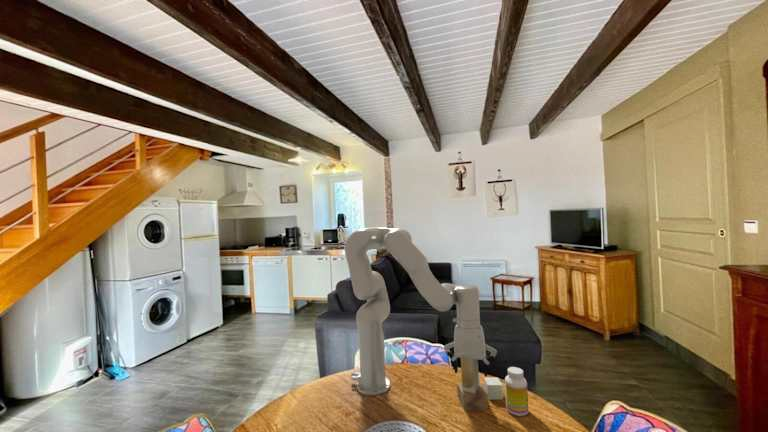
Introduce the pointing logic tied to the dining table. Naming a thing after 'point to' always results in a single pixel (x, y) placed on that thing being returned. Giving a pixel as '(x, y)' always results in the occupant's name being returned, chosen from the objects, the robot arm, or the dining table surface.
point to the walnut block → (472, 398)
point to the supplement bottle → (516, 392)
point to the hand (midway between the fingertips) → (470, 373)
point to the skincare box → (469, 374)
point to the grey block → (493, 388)
